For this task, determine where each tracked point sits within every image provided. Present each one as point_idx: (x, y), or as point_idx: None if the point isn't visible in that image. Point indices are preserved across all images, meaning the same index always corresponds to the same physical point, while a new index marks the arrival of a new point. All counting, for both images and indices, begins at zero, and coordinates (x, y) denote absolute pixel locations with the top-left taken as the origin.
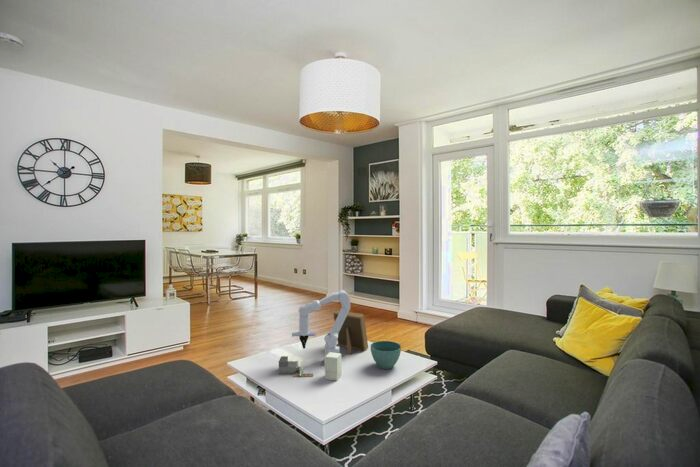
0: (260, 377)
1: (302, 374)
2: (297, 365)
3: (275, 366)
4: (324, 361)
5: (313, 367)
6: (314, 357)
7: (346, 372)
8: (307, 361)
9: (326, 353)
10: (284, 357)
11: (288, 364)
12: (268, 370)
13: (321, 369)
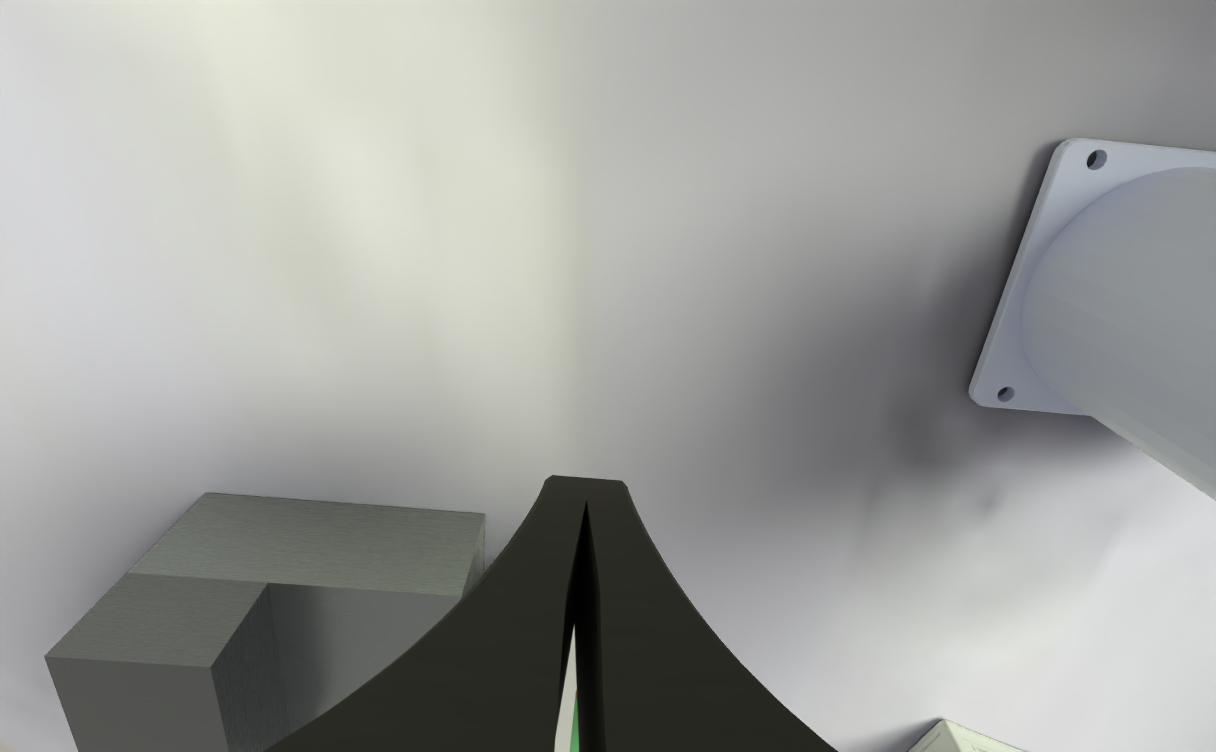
0: (19, 711)
1: (573, 718)
2: (476, 545)
3: (77, 414)
4: (998, 361)
5: (749, 522)
6: (843, 41)
7: (1174, 704)
8: (662, 262)
9: (1163, 459)
10: (151, 709)
11: (315, 693)
12: (25, 542)
13: (861, 595)
